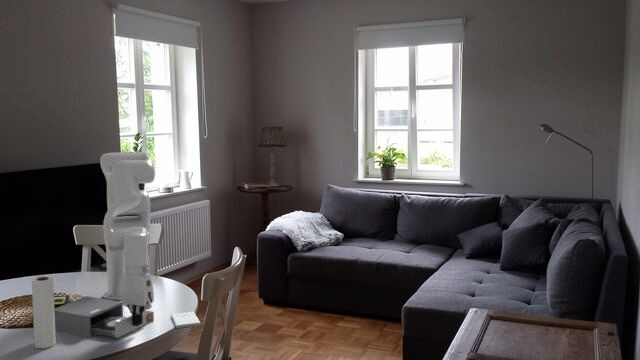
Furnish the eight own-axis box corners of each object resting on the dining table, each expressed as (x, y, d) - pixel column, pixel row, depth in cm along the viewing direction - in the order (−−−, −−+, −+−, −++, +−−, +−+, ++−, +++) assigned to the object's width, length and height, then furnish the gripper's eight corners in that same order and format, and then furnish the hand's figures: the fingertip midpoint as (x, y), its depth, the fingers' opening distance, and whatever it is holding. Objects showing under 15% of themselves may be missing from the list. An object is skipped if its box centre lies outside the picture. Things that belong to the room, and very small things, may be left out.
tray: (107, 316, 207) (106, 303, 207) (146, 323, 201) (145, 309, 200) (76, 330, 194) (76, 315, 194) (117, 337, 188) (117, 323, 188)
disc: (130, 323, 199) (130, 318, 199) (116, 330, 193) (115, 325, 193) (113, 320, 202) (113, 315, 202) (98, 327, 195) (98, 322, 195)
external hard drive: (176, 330, 201) (171, 318, 212) (200, 326, 204) (194, 315, 215) (176, 325, 200) (171, 313, 212) (200, 322, 203) (194, 311, 215)
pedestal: (142, 319, 208) (141, 309, 208) (153, 321, 207) (153, 311, 206) (132, 324, 204) (132, 314, 204) (144, 326, 202) (144, 316, 202)
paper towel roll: (53, 348, 182) (50, 280, 180) (32, 349, 181) (29, 281, 179) (58, 339, 189) (56, 274, 187) (38, 340, 188) (35, 275, 186)
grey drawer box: (87, 315, 212) (86, 295, 211) (123, 321, 206) (122, 301, 205) (51, 330, 197) (51, 309, 197) (89, 337, 191) (88, 315, 191)
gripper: (162, 269, 192) (163, 324, 194) (125, 264, 198) (126, 318, 200) (147, 275, 185) (148, 331, 187) (109, 270, 191) (111, 325, 193)
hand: (137, 324), depth 194 cm, fingers closed
